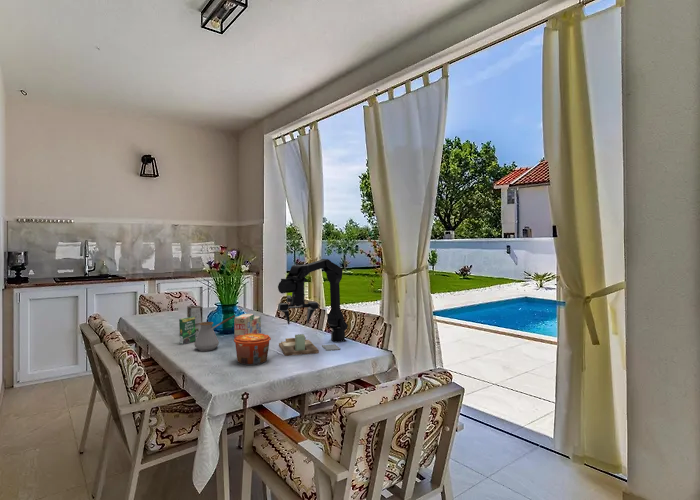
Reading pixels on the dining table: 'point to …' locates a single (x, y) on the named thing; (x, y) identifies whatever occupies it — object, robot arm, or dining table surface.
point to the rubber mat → (330, 347)
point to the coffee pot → (208, 336)
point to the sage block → (299, 342)
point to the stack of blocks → (247, 324)
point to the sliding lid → (291, 342)
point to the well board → (291, 350)
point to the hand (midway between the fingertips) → (298, 323)
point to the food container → (252, 348)
